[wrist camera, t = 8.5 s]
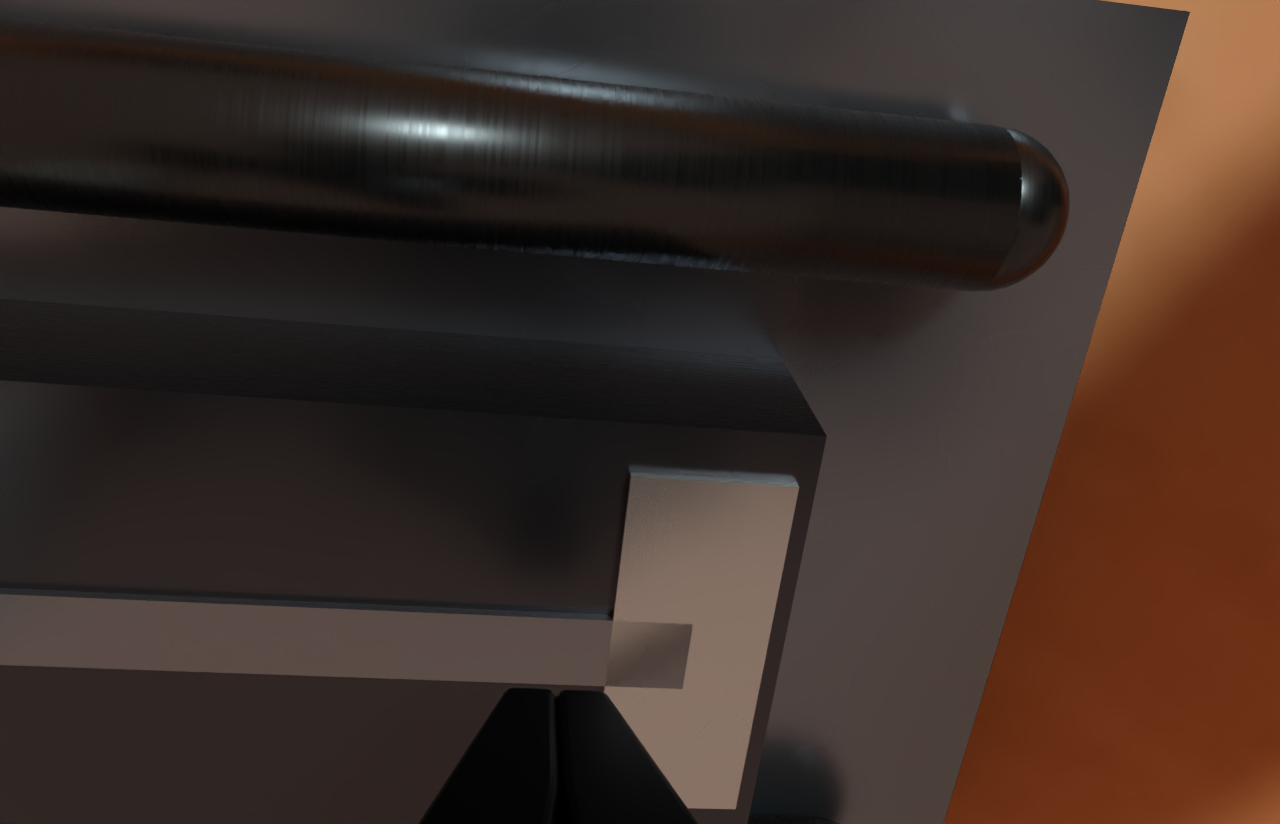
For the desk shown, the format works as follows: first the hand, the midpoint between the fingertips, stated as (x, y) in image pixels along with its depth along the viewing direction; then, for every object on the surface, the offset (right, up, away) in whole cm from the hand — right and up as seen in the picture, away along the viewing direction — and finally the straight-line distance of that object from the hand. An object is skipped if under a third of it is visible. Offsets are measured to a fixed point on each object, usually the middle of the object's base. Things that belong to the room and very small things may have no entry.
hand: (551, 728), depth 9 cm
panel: (-4, +2, +4) cm, 6 cm away
